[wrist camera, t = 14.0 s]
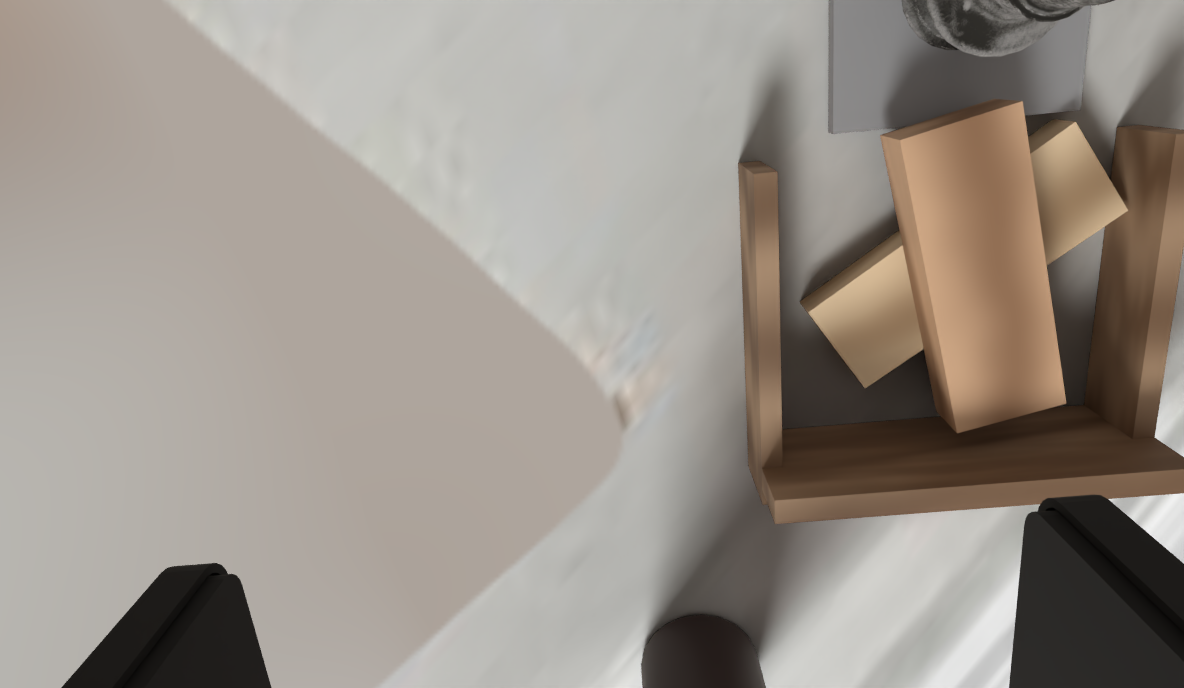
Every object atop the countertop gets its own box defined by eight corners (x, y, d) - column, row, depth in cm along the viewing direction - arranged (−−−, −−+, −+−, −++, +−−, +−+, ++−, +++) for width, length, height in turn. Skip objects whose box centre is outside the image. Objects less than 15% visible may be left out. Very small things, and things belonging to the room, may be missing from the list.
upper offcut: (936, 411, 40) (957, 433, 37) (880, 135, 35) (899, 140, 33) (1038, 383, 39) (1066, 403, 37) (994, 98, 35) (1022, 101, 32)
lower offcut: (796, 298, 40) (808, 312, 38) (1045, 118, 37) (1075, 121, 35) (850, 370, 42) (865, 388, 39) (1096, 201, 39) (1128, 210, 36)
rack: (738, 162, 37) (767, 183, 31) (1139, 124, 37) (1257, 138, 30) (748, 465, 43) (775, 539, 36) (1099, 438, 42) (1192, 507, 35)
